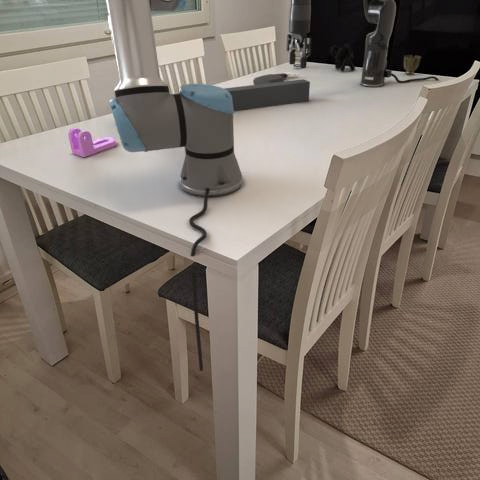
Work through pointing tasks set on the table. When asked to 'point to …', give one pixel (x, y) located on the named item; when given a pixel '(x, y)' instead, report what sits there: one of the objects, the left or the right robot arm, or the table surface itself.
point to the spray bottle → (273, 78)
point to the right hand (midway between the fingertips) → (297, 66)
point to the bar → (269, 94)
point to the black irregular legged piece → (343, 57)
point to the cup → (411, 63)
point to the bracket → (88, 143)
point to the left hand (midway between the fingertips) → (132, 99)
